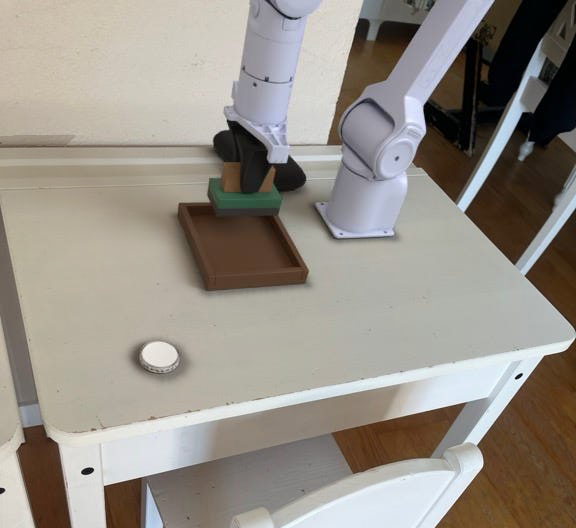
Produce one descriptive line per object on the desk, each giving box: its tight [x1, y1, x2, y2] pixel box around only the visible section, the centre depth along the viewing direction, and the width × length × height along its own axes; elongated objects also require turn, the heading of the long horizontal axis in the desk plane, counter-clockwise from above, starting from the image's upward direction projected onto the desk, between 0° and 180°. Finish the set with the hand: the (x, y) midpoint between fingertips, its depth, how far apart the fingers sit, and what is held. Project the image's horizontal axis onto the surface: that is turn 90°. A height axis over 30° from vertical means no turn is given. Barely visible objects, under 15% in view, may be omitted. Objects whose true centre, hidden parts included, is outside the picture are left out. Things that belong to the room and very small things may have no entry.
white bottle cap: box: [139, 340, 181, 374], centre depth 63 cm, size 4×4×1 cm
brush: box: [206, 161, 283, 217], centre depth 75 cm, size 4×8×5 cm, turn 110°
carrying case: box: [212, 129, 307, 192], centre depth 91 cm, size 11×3×15 cm
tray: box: [177, 201, 310, 292], centre depth 78 cm, size 13×15×2 cm
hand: (246, 185), depth 75 cm, fingers closed on brush, 2 cm apart
